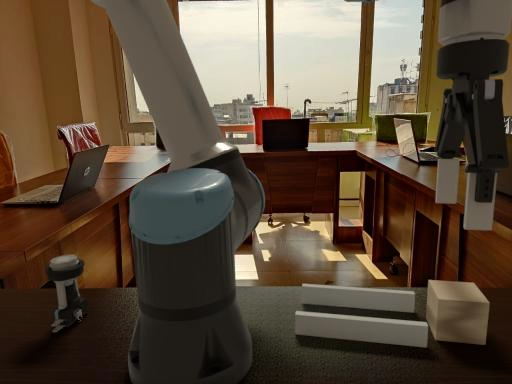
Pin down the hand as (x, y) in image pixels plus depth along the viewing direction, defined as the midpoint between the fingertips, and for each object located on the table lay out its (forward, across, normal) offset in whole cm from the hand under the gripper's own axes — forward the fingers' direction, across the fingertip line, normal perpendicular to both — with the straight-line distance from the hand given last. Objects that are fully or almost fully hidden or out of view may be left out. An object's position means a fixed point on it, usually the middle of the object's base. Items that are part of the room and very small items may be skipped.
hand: (459, 214), depth 49 cm
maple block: (+17, 0, 0) cm, 17 cm away
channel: (+16, 0, +13) cm, 21 cm away
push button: (+17, -8, +55) cm, 58 cm away
